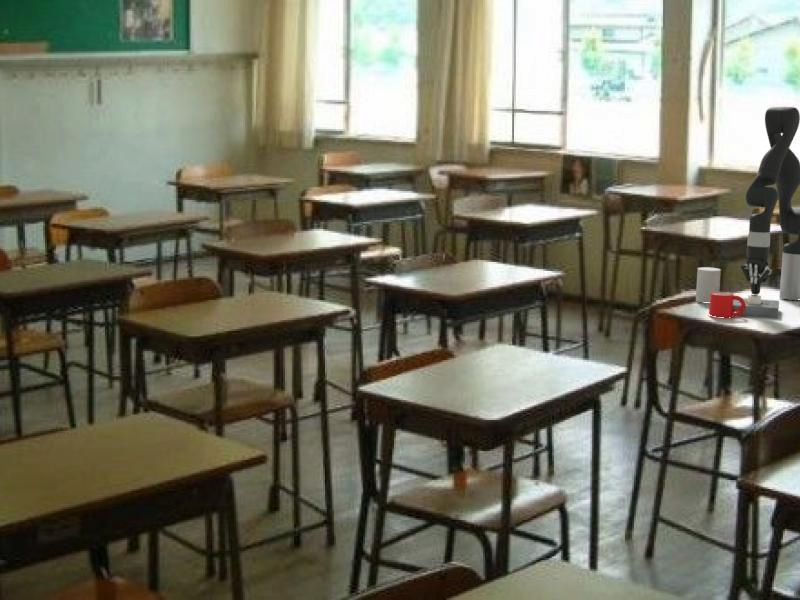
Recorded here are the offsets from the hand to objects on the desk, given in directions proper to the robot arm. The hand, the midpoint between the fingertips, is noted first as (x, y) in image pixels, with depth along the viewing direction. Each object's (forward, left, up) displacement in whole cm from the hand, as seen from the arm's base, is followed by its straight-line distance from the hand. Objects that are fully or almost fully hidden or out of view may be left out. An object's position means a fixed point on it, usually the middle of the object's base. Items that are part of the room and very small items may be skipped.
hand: (755, 294), depth 454 cm
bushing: (0, 0, -7) cm, 7 cm away
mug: (+14, +1, -7) cm, 16 cm away
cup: (-2, -24, -7) cm, 25 cm away
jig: (0, 0, -7) cm, 7 cm away
